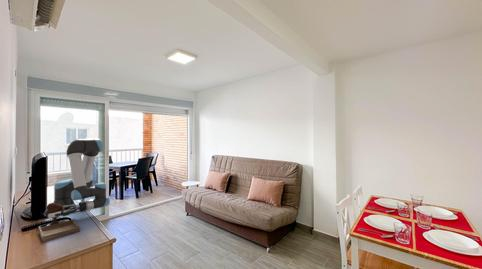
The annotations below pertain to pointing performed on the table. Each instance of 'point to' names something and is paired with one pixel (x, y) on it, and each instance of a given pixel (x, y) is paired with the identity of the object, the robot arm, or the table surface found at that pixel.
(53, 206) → the ice cream bowl
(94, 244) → the table surface
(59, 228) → the light brown wooden tray
